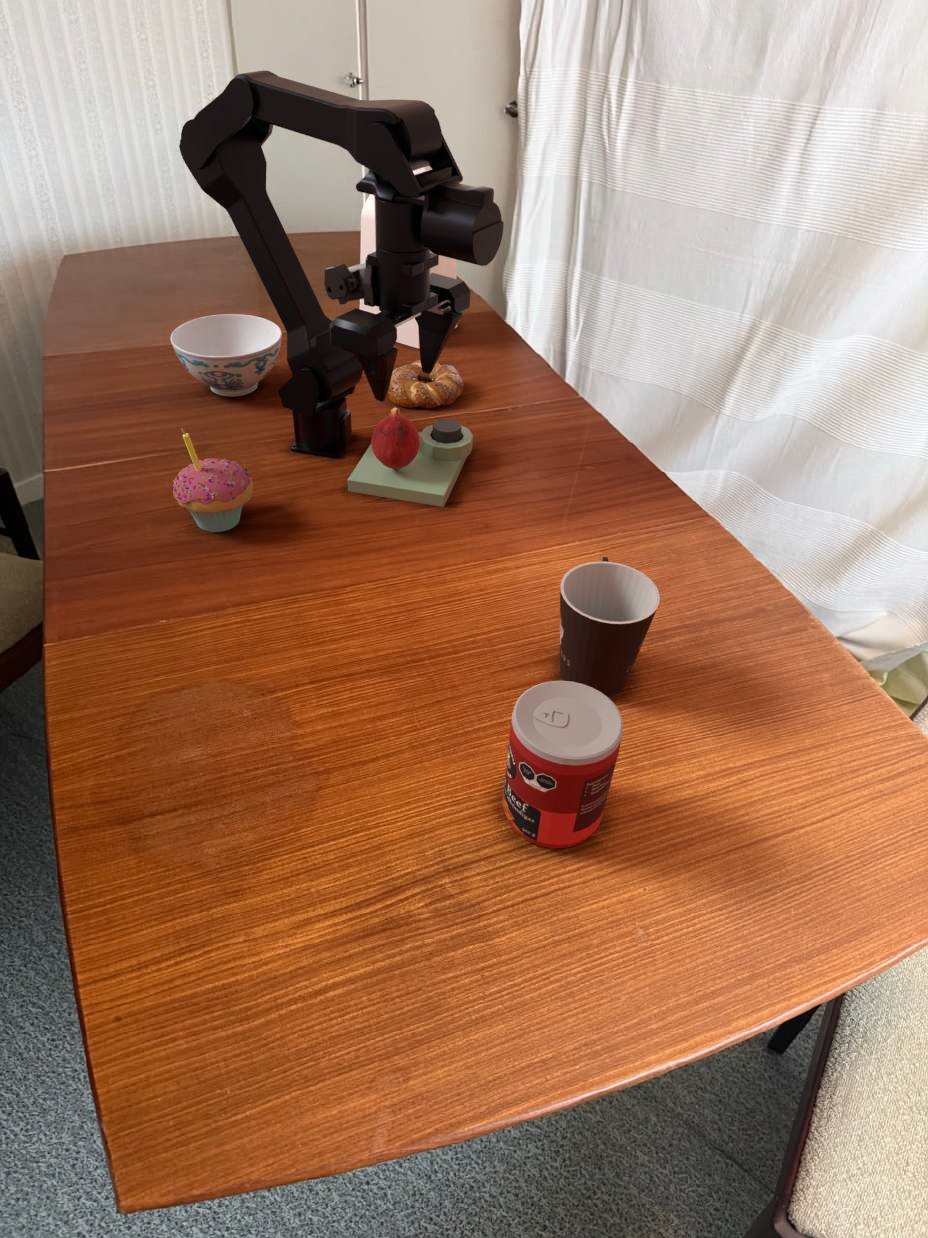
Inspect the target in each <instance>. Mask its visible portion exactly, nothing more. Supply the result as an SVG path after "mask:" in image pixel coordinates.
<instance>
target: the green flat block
mask: <svg viewBox="0 0 928 1238" xmlns="http://www.w3.org/2000/svg"><path fill="white" fill-rule="evenodd" d="M418 433H419V437H420V446H419V451H418V454H417V455H416V457H415V458H414V460H413V461H412V462H411V463H409V464H408V465H407V466H405V467H402V468H400V469H398V470H393V469H391V468H389V467H386V466H385V465H383V464H382V463H381V462H380V461H379V460H378V459H377V458H376V456H375V455H374V452H373V449H372V445H371V444H370V445H369V446H368V448H367V449H366V450H365V452H364V454H363V455H362V457H361V458H360V459H359V461H358V463H357V464H356V466H355V467H354V469H353V470H352V472H351V474H350V475H349V477H348V478H347V492H349V493H357V494H364V495H369V496H374V497H380V498H382V497H383V498H387V499H393V500H398V501H399V500H400V501H406V502H411V503H417V504H423V505H429V506H435V507H441V508H444V507H445V505H446V504H447V501H448V499H449V497H450V495H451V492H452V490H453V488H454V486H455V484H456V482H457V480H458V477H459V475H460V473H461V472H462V469H463V466H464V464H465V462H466V461H467V458H468V456H469V455H471V452H472V450H473V446H474V445H473V443H474V435H473V433H472V432H471V430H470V429H469V428H467V427H465V426H463V425H461V439H460V441H458V442H456V443H447V444H446V443H440V442H437V441H435V440H433V424H431V425H428V426H426V427H424V428H423V429H422V431H418Z"/></svg>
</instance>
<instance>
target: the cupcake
mask: <svg viewBox="0 0 928 1238" xmlns="http://www.w3.org/2000/svg"><path fill="white" fill-rule="evenodd" d="M180 430H181V432H182V439H183V441H184V443H185V446H186V449H187V451H188V454H189V456H190V459H191V461H192V462H191V463H188V464H187V466H185V467H184V468H182V469H180V471H179V472H177V473H178V474H176V476H175V478H174V479H173V480H172V484H173V485H172V488H171V491H172V493H173V498H174V499H175V501H176V502H177V503H178V505H179V506H180V507H181V508H183V509H187V511H188V512H189V513H190V515H191V516H192V518H193V519H194V522H195V523H196V525H197V526H198V527H199V528H200V529H201V530H203V531H205V532H210V533H221V532H222V533H223V532H227V531H229V530H232V529H233V528H235V527H236V526H237V525H238V524H239V523H240V520H241V515H242V510H243V506H244V504H246V503H248V502H249V501H250V500H251V498H252V495H253V493H254V489H255V488H254V482H253V480H252V478H251V476H250V474H249V473H248V469H247V468H244V467H243V466H241V464H238V463H237V462H236V461H234V460H228V459H226V458H224V459H223V458H210V457H207V458H205V459H201V460H200V459H199V457H198V455H197V452H196V450H195V447H194V445H193V442H192V440H191V437H190V434H189V432H188V433H187V432H185V429H184V428H182V427H181V428H180Z"/></svg>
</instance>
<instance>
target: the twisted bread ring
mask: <svg viewBox="0 0 928 1238" xmlns="http://www.w3.org/2000/svg"><path fill="white" fill-rule="evenodd" d="M464 388H465V383H464V381H463V379H462V377H461V375H460V373H459V371H458V369H457V368H455V366H453V365H450V364H445V363H444V364H442V365H441V364H440V363H439V362H438V361H437V362H436V364H435V366H434V368H433V370H432V372H431V373H430V374H427V373H424V372H423V371H422V367H421V360H420V359H418V360H415V361H413V362H412V363H410V364H404V365H402V366H399V367H397V368H395V369H393V373H392V377H391V381H390V385H389V389H388V392H387V395H388V398H389V400H391V402H392V403H393V404H395V405H396V406H398V407H402V408H409V409H411V408H417V407H419V408H423V409H428V410H429V409H434V408H437V407H439V406H441V405H442V406H450V405H452V404H453V403H455V401H457V399H458V397H460V396H461V395H462V393H463V392H464Z"/></svg>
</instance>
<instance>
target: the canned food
mask: <svg viewBox="0 0 928 1238" xmlns="http://www.w3.org/2000/svg"><path fill="white" fill-rule="evenodd" d="M623 734H624V719H623V717H622V713H621V710H619V708H618V706H617V705H616V704H615V703H614V701H612V700H611V698H610V697H607V696H605V695H604V694H603V693H601V692H600V691H598V690H596V689H594V688H592V687H589V686H587V685H584V684H580V683H576V682H570V681H563V680H551V681H544V682H542V683H539V684H536V685H532V686H531V687H530V688H528V689H526V690H525V691H524V692H522V694H521V695H520V696H518V698H517V700H516V702H515V703H514V706H513V710H512V713H511V721H510V726H509V736H508V744H507V752H506V753H507V755H506V761H505V762H506V764H505V773H504V781H503V782H504V783H503V791H502V802H501V803H502V807H503V812H504V814H505V816H506V820H507V821H508V823H509V825H510V826H511V828H512V829H513V831H515V833H517V834H518V835H519V836H520V837H522V838H523V839H525V840H526V841H528V842H530V843H532V844H534V845H537V846H540V847H543V848H548V849H565V848H570V847H575V846H578V845H579V844H581V843H583V842H585V841H587V839H589V838H590V837H591V836H592V834H593V833H594V832H595V831H596V830H597V829H598V827H599V825H600V824H601V821H602V819H603V815H604V811H605V808H606V807H605V806H606V803H607V799H608V795H609V791H610V787H611V784H612V779H613V776H614V772H615V768H616V765H617V760H618V757H619V754H620V749H621V744H622V741H623Z"/></svg>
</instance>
